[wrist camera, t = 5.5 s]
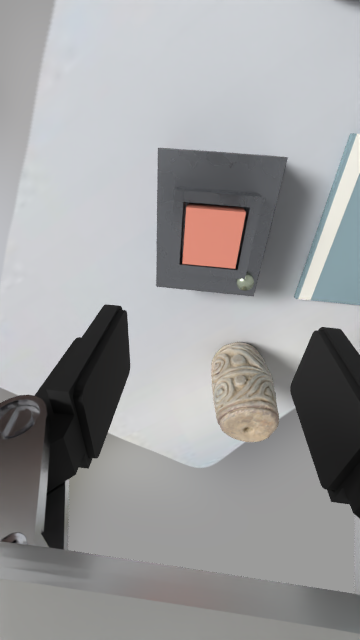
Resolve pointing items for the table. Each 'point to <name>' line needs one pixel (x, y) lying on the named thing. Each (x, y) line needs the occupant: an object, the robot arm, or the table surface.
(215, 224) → the button
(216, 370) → the carving
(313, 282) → the mat
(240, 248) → the breaker box
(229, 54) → the table surface
